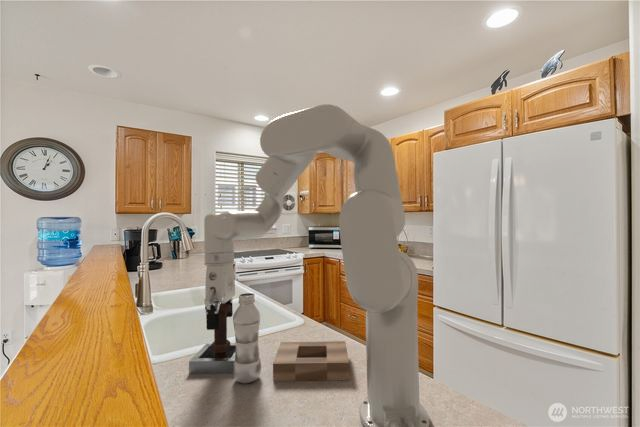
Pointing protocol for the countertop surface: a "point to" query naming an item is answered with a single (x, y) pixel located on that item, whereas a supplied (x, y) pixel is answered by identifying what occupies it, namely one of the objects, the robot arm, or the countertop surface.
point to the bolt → (221, 333)
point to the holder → (212, 361)
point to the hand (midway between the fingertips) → (220, 322)
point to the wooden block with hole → (311, 361)
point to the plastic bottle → (246, 340)
